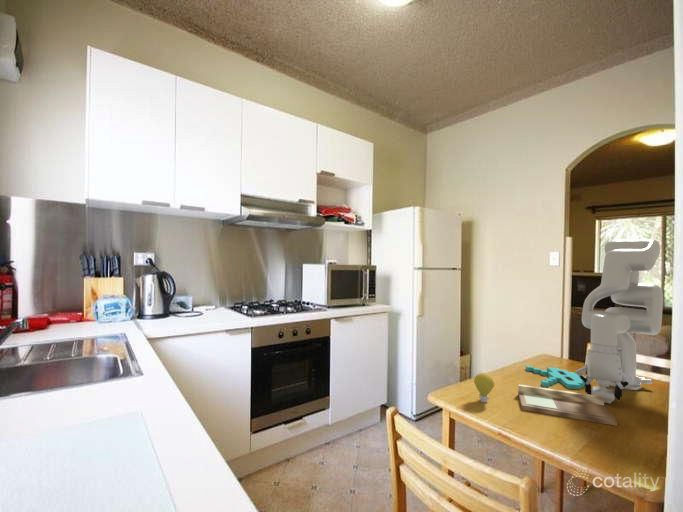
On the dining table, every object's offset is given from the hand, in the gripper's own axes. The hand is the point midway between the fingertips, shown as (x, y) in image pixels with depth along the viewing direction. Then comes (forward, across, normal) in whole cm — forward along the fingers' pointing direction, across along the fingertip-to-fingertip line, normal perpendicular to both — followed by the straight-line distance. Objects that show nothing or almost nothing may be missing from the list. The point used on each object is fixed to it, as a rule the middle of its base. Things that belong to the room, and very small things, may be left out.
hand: (602, 396), depth 119 cm
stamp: (+2, 0, 0) cm, 2 cm away
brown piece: (+2, +15, +13) cm, 20 cm away
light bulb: (+2, +40, +18) cm, 44 cm away
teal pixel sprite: (+2, +10, -18) cm, 21 cm away
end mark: (0, +22, +13) cm, 26 cm away
